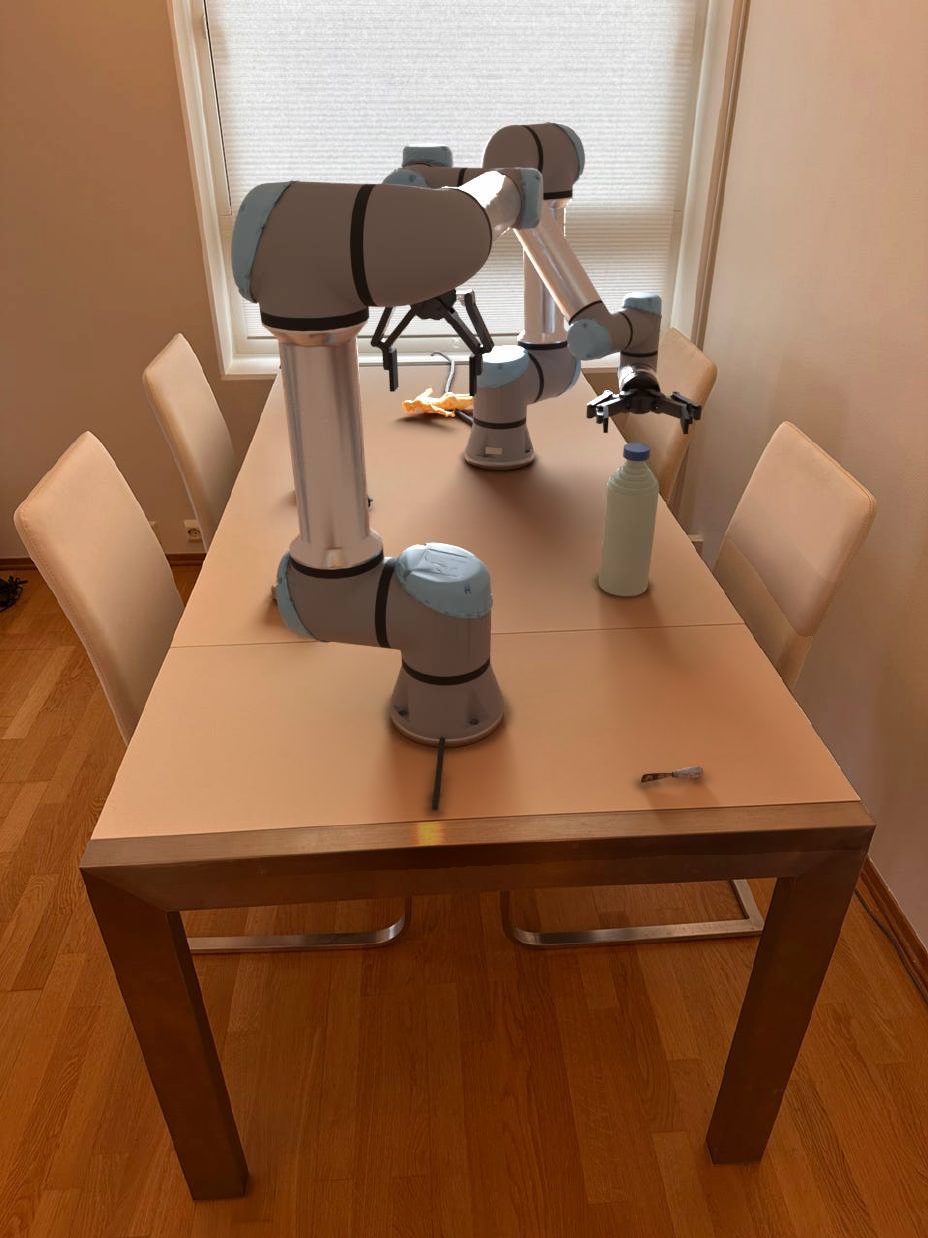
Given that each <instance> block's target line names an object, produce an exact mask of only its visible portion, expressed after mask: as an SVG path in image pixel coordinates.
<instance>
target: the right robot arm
mask: <svg viewBox="0 0 928 1238" xmlns="http://www.w3.org/2000/svg"><path fill="white" fill-rule="evenodd" d="M585 165H586V153H585V148H584V144H583V142H582V139H581V138H580V136H579V134H577V133H576V131H575V129H573V128H572V127H571V126H569V125H568V124H565V123H560V122H550V121H547V122H540V123H526V124H509V125H506V126H503V127H501V128H500V129H498V130H496V132H494V133H493V134H492V135H491V136H490V137H489V138H488V141H487V142H486V144H485V145H484V148H483V151H482V153H481V159H480V168H515V167H521V168H523V169H536V170H538V171H539V172H540V173H541V175H542V179H543V207H542V215H541V220H540V223H539V225H538V226H537V227H536V228H533V229H521V230H517V229H512V230H513V232H514V233H515V235H516V237H517V238H518V240H519V242H520V243H521V245H522V247H523V248H522V249H523V253H522V254H523V255H522V256H523V257H522V259H523V327H524V329H523V330H522V331H521V332H520V333H519V335H518V336H517V345H514V344H513V345H512V344H507V345H505V344H503V345H502V346H499V345H497V346H496V345H495V347H494V348H493V350H492V351H491V352H490V353H486V354H484V355H483V372H482V374H481V375H480V376H478V375H477V392H476V394H475V395H474V397H473V405H472V409H473V410H472V417H470V416H469V415H466V414H465V413H463V412H462V410H458V409H455V410H453V411H455V412H454V413H456V414H457V415H458V416H459V417H461V418H462V419H464V420H465V421H467V422H468V423H470V424H472V426H471V428H470V431H469V435H468V438H467V441H466V444H465V448H464V459H465V461H466V462H467V463H468V464H470V465H471V466H474V467H476V468H479V469H483V470H490V471H510V470H515V469H516V470H517V469H520V468H523V467H526V466H528V465H530V464H531V463H533V460H534V455H535V453H534V452H535V450H534V446H533V443H532V440H531V439H532V438H531V435H530V432H529V429H528V426H527V413H528V406H530V405H532V404H536V403H539V402H542V401H545V400H549V399H554V398H557V397H560V396H562V395H563V394H566V393H567V392H568V391H570V390H572V389H573V388H574V387H575V386H576V384H577V383H578V380H579V378H580V375H581V371H582V362H589V361H593V360H600V359H602V358H605V357H608V356H610V355H614V354H617V353H619V357H618V358H619V359H618V365H617V372H616V378H617V381H618V385H619V386H618V387H619V394H614V393H613V392H612V391H611V390H608V389H607V390H604V392H603V393H602V395H599V396H598V397H596V398H595V399H593V400H592V401H590V402H588V403H586V419H594V418H595V423H596V424H598V425H602V430H603V431H602V432H603V434H608V433H609V419H610V417H611V418H612V417H613V416H616V415H618V414H625V415H626V414H628V413H630V414H634V415H646V414H648V413H653V414H657V415H660V414H664V415H667V416H670V417H673V418H676V419H679V423H680V427H681V431H682V434H683V435H689V429H690V428H689V427H690V425H693V424H694V421H701V420H702V412H703V411H702V410H703V405H701V404H700V403H698V402H695V401H693V400H692V399H690V398H687V397H686V396H683V395H682V394H681V393H680V392H679V391H677V390H675V391H674V390H673V391H672V393H670V395H666V394H664V393H663V392H662V390H661V386H660V382H659V378H658V374H657V372H658V358H659V346H660V334H661V327H662V326H661V325H662V319H663V315H662V306H663V305H662V303H663V302H662V297H661V296H660V295H659V294H656V293H653V292H645V291H644V292H641V291H640V292H639V291H638V292H630V293H627V294H626V295H625V296H624V297H623V299H622V304H621V308H620V309H616V310H613V311H609V309H608V308H607V305H606V304H605V303H604V301H603V299H602V298H601V296H600V293H599V292H598V291H597V289H596V287H595V286H594V284H593V282H592V280H591V278H590V277H589V275H588V273H587V271H586V270H585V268H584V267H583V264H582V263H581V261H580V259H579V257H578V256H577V254H576V252H575V251H574V249H573V248H572V246H571V244H570V242H569V240H568V239H567V237H566V234H565V233H566V207H567V205H568V204H569V203H570V202H571V201H572V199H573V198H574V197H573V195H574V185H575V184H576V183H577V182H578V181H579V180H580V177H581V176H582V175H583V172H584V170H585ZM565 321H566V322H567V325H568V326H569V327H568V330H566V329H565ZM435 355H438V356H441V357H442V358H443V359H446V360H447V362H450V372H449V374H448V379H447V381H446V384H445V389H444V394H446V393H450V387H451V383H452V380H453V377H454V374H455V366H456V364H455V361H454V359H452V357H450V356H449V355H448V354H446V353H444V352H442V351H439V350H433V351H432V352H431V354H430V356H429V357H434V356H435Z"/></svg>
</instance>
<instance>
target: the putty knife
mask: <svg viewBox="0 0 928 1238" xmlns="http://www.w3.org/2000/svg"><path fill="white" fill-rule="evenodd" d="M704 772H705V771H704V768H702V767H701V766H697V765H695V766H688V767H683V768H679V769H675V770H673V771H671V772H653V773H652V772H651V773H650V772H649V773H644V774H642V776H641V779H640V783H642V784H645V783H648V782H653V781H659V780H665V779H668V778H673V779H674V778H675V779H693V778H694V779H695V778H700V777H702V776H703V775H704Z"/></svg>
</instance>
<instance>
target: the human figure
mask: <svg viewBox="0 0 928 1238" xmlns="http://www.w3.org/2000/svg"><path fill="white" fill-rule="evenodd" d="M424 391H425V392H423V393H422V394H420V395H418V396H416V398H415V399H414V400H404V401H403V402H402V411H404V412H405V413H410V414H412V413H414V412H417V408H418V409H420V410H421V411H423V412H424V413H427V414H439V415H443V416H444V417H449V416H450V417H451V418H452V417H453V418H454V417H455V416H456V414H455V413H456V412H455V411H454V410H455V409H458V410H459V411H462V410H464V409H467V408H469V407H471V406H473V397H469V393H468V394H460V393H457V394H455V393H453V392H449V393H446V394H445V393H444V394H443V395H442V396H441V397H440V398H434V397H429V396H430V395H432V394H433V392H434V391H433V389H432V385H429V387H428V389H424ZM450 410H452V411H450Z"/></svg>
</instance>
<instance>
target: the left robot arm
mask: <svg viewBox="0 0 928 1238" xmlns="http://www.w3.org/2000/svg"><path fill="white" fill-rule="evenodd" d="M453 155H454V153H453V150H452V148H451V147H450V146H449V145H448V144H441V143H414V144H408V145H405V146H404V147H403V149H402V155H401V156H402V159H401V161H402V162H401V166H400V167H398V168H397V169H394V170H393V171H391V172H390V173H389V174H388V175H387V176H386V177H385V178H384V179H383V180H382V182H381V183H353V182H350V183H349V182H329V181H300V180H289V181H277V182H266V183H265V182H264V183H261V184H258V185H255V186H254V187H253V188H252V189H250V190H249V191H248V192H247V194H246V195H245V196H244V198H243V200H242V201H241V203H240V205H239V208H238V211H237V214H236V216H235V219H234V222H233V223H234V224H233V229H232V235H231V242H230V245H231V246H230V262H231V270H232V276H233V281H234V284H235V286H236V287H237V288H238V293H239V295H240V296H241V297H242V298H243V299H245V300H246V301H248V302H249V303H252V304H258V306H259V313H260V314H259V315H260V322H261V325H262V327H263V328H264V329H266V330H267V331H268V332H269V333H270V334H271V335H273V336H274V337H275V338H276V340H277V345H278V353H279V354H278V355H279V363H280V370H281V372H280V373H281V378H282V379H281V381H282V389H283V398H284V406H285V407H284V408H285V414H286V424H287V433H288V441H289V450H290V460H291V467H292V477H293V485H294V493H295V502H296V511H297V521H298V528H299V533H298V534H297V535H296V536H295V537H294V538H293V539H292V540H291V542H290V544H289V548H288V550H287V551H286V552H285V553H284V554H283V555H282V557H281V558H280V561H279V564H278V567H277V572H276V580H277V579H278V584H277V585H276V598H277V600H276V604H277V609H278V612H279V615H280V617H281V619H282V622H283V624H284V625H285V627H286V628H287V629H288V631H290V633H292V634H294V635H295V636H298V637H299V638H303V639H309V640H314V641H317V642H320V643H326V644H328V643H336V644H337V643H338V644H346V645H354V646H364V647H371V648H372V647H373V648H379V649H380V648H381V649H390V650H398V651H400V655H401V667H400V669H399V672H398V675H397V678H396V681H395V684H394V687H393V690H392V693H391V696H390V718H391V721H392V724H393V725H394V727H395V728H396V729H397V731H398V732H399V733H400V734H402V735H403V736H404V737H406V738H407V739H409V740H411V741H413V742H415V743H417V744H420V745H421V744H422V745H425V746H430V747H437V749H438V750H437V757H436V758H437V759H436V768H435V776H434V777H435V778H434V788H433V794H432V795H433V796H432V803H431V809H432V810H433V811H438V810H439V803H440V795H441V787H442V786H441V784H442V776H443V775H442V774H443V766H444V765H443V764H444V755H445V748H454V747H455V748H457V747H463V746H467V745H471V744H473V743H476V742H480V741H481V740H483V739H485V738H486V737H488V736H489V735H491V734H492V733H493V732H494V731H495V730H496V729H498V727H499V726H500V724H501V722H502V720H503V717H504V697H503V693H502V690H501V687H500V685H499V682H498V679H497V677H496V674H495V672H494V668H493V666H492V664H491V654H492V653H491V651H492V649H491V648H492V647H491V645H492V643H491V642H492V641H491V640H492V608H493V606H494V605H493V604H494V598H493V593H492V584H491V581H492V580H491V574H490V571H489V569H488V567H487V565H486V564H485V563H484V562H483V561H482V560H480V559H479V557H478V556H477V555H476V554H474V553H472V552H470V551H468V550H466V549H465V548H462V547H459V546H455V545H451V544H447V543H439V542H427V543H424V545H420V544H414V545H412V546H410V547H407V548H405V549H404V550H403V551H401V553H400V554H399V555H398V557H392V556H385V553H384V542H383V538H382V537H381V535H380V534H379V533H378V532H376V531H375V530H374V529H372V528H371V527H370V526H371V525H370V513H369V511H370V510H369V508H368V496H369V494H368V482H367V468H366V453H365V439H364V438H365V437H364V425H363V424H364V423H363V421H364V420H363V408H362V395H361V382H360V381H361V380H360V378H361V377H360V366H359V365H360V364H359V350H358V349H359V347H358V335H359V333H360V332H361V331H362V330H363V329H364V328H365V326H366V325H368V323H369V322H370V307H371V308H384V309H383V311H382V314H381V316H380V319H379V321H378V324H377V325H376V328H375V330H374V333H373V335H372V337H371V339H370V342H369V344H370V346H371V347H372V348H378V349H379V350H380V351H381V353H382V368H383V370H384V371H388V380H389V381H388V382H389V392H392V393H394V392H396V390H397V389H398V388H399V366H398V348H395V347H393V345H394V344H395V343H396V342H397V341H398V339H399V338H400V337H401V335H402V334H403V333H405V331H406V330H407V328H408V327H409V325H410V324H411V323H412V322H413V320H414V319H415V318H416V317H417V318H419V319H420V320H421V321H425V320H433V321H441V320H443V319H444V320H445V322H446V323H447V324H448V325H450V326H451V327H452V329H453V331H455V332H456V334H457V335H458V337H459V338H460V339H461V340H462V342H463V343H464V344H465V346H466V347H467V348H468V349H469V350H470V352H471V353H470V355H469V356H468V394H469V397H474V395H475V394H476V392H477V375H478V376H480V375H481V374H482V372H483V355H484V354H486V353H490V352H491V351H492V350H493V348H494V347H496V344H495V342H494V340H493V338H492V336H491V333H490V332H489V330H488V329H489V328H488V327H487V325H486V323H485V321H484V318H483V315H482V314H481V312H480V310H479V307H478V305H477V301H476V292H475V290H473V289H472V288H471V289H468V290H467V291H457V288H458V287H460V286H462V285H463V284H465V283H466V282H468V281H469V280H471V279H472V278H473V277H474V276H476V274H477V273H478V272H479V271H480V270H481V269H482V268H483V267H484V266H485V264H486V262H487V260H488V259H489V257H490V255H491V252H492V248H493V245H494V244H495V243H496V242H497V241H498V240H499V239H500V238H501V237H502V236H504V234H505V233H506V232H507V231H508V230H511V229H512V230H513V229H517V230H521V229H533V228H536V227H537V226H538V225H539V223H540V220H541V215H542V207H543V179H542V175H541V173H540V172H539V171H538V170H536V169H523V168H521V167H515V168H481V167H459V166H457V167H456V166H454V156H453ZM457 301H459V303H460V304H461V306H462V307H465V311H466V313H467V316H468V318H469V321H470V323H471V325H472V326H473V329H474V331H475V333H476V335H477V337H478V338H477V337H476V336H475V334H474V333H473V332H472V331H471V330H470V328H469V327H468V325H467V324H466V323H465V322H464V320H463V319H462V318H461V317H460V315H459V312H458V311H457V310H456V308H455V307H454V305H455V304H456V302H457ZM406 306H409V307H410V308H409V310H408V311H407V312H406V314H405V315H404V316H403V318H402V319H401V320H400V322H399V323H398V324H397V325H396V327H395V328H394V329H393V330H392V332H391V333H390V334H389V336H388V337H387V338H386V339H384V337H385V334H386V332H387V329H388V327H389V324H390V322H391V320H392V318H393V316H394V313H395V311H396V309H397V308H399V307H406ZM367 494H368V495H367Z"/></svg>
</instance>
